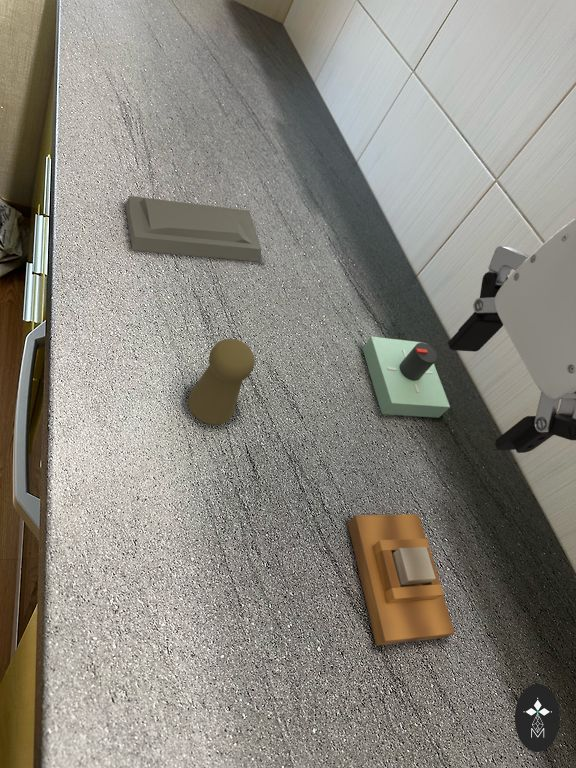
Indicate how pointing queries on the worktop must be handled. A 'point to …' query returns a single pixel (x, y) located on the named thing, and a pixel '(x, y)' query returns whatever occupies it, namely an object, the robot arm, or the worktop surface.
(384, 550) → the light switch
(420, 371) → the volume knob
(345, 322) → the worktop surface
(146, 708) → the worktop surface
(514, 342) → the robot arm
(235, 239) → the grey bevelled block
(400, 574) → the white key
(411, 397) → the volume panel
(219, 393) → the brown pawn
